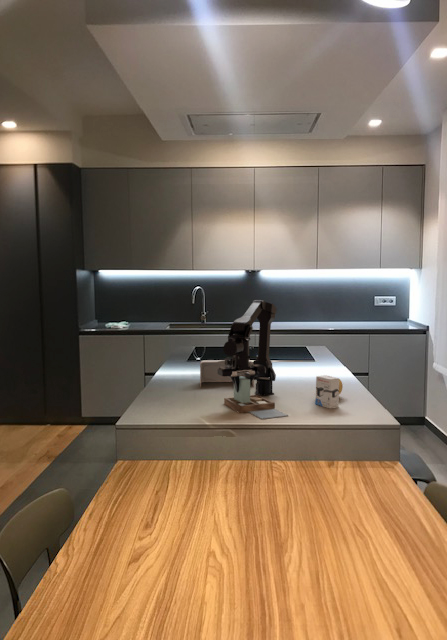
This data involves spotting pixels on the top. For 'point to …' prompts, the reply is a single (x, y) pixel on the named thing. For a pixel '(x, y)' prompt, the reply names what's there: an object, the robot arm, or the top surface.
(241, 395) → the tall sage green box
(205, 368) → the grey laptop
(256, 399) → the offcut
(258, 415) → the mat
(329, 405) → the ink box
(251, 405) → the tray
